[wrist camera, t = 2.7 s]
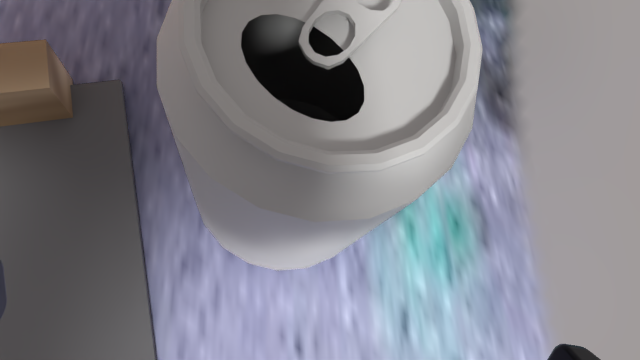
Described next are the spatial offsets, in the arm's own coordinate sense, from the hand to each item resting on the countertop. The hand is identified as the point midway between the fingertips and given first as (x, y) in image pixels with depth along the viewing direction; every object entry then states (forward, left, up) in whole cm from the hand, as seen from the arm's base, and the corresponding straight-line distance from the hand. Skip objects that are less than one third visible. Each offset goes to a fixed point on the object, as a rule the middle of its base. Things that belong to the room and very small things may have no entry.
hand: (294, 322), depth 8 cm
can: (+6, -2, -12) cm, 13 cm away
